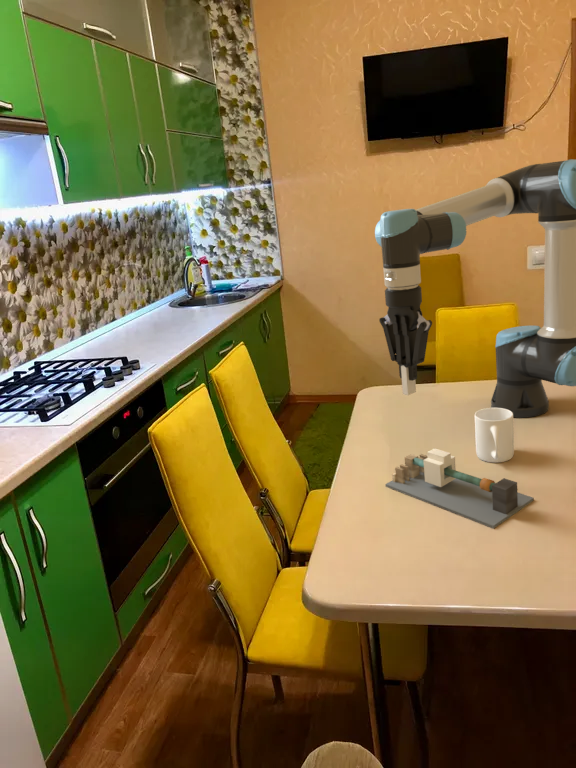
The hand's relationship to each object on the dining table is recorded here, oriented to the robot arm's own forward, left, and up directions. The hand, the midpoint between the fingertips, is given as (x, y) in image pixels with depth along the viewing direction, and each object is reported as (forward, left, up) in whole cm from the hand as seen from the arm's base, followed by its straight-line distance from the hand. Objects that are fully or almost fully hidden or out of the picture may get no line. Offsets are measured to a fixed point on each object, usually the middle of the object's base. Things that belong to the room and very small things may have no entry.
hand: (409, 393), depth 135 cm
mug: (-19, +8, -21) cm, 30 cm away
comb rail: (0, +11, -21) cm, 24 cm away
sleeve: (0, +7, -19) cm, 20 cm away
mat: (0, +11, -21) cm, 24 cm away
